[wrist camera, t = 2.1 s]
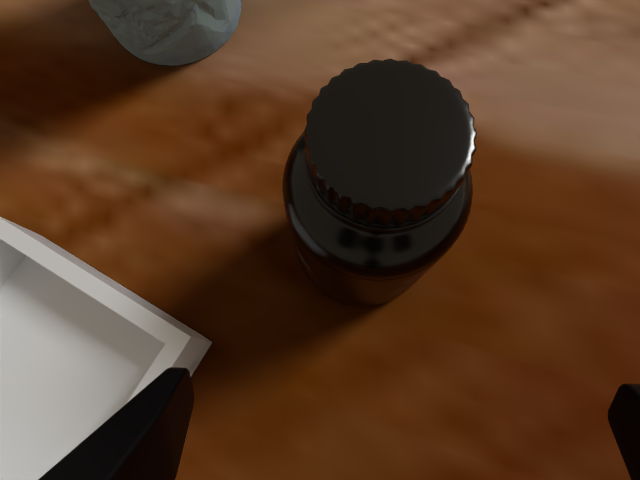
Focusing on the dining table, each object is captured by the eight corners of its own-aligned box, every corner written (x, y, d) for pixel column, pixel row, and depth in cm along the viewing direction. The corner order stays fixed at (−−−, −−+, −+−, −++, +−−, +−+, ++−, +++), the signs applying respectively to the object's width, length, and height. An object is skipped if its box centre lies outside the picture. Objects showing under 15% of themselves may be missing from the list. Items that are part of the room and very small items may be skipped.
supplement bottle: (272, 256, 23) (212, 144, 12) (349, 166, 25) (364, -12, 13) (374, 338, 22) (420, 301, 10) (450, 237, 23) (564, 106, 12)
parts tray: (67, 572, 19) (11, 615, 16) (-113, 431, 21) (-197, 442, 18) (212, 342, 22) (190, 336, 19) (41, 235, 24) (-6, 213, 21)
